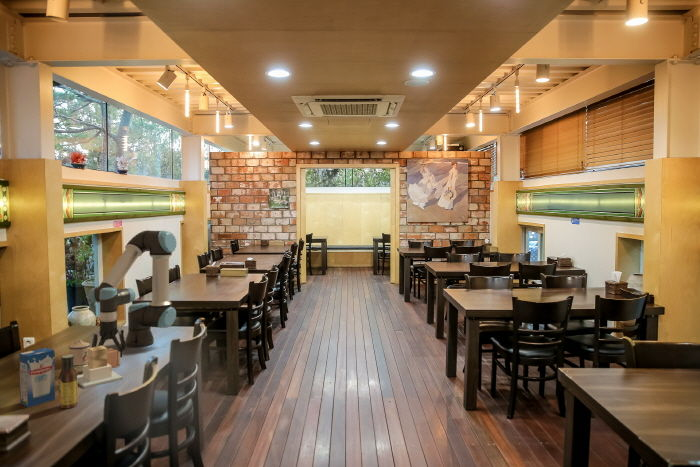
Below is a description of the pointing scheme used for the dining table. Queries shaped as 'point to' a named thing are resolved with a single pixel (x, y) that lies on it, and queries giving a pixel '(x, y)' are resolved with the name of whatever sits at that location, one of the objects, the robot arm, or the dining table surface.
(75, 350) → the teacup with lid
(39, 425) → the dining table surface
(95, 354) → the maple block
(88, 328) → the dining table surface
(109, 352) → the terracotta block
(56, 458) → the dining table surface
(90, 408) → the dining table surface
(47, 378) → the milk carton
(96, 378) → the base
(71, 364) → the sauce bottle
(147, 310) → the robot arm
